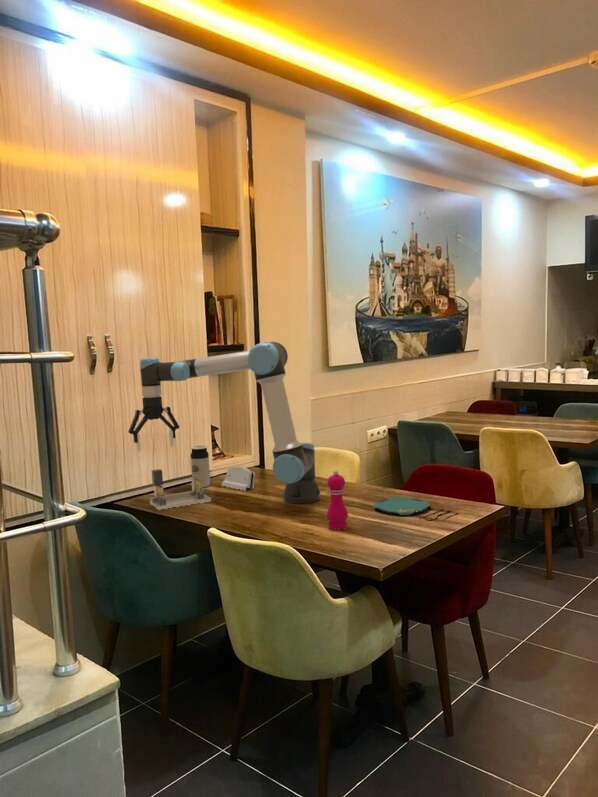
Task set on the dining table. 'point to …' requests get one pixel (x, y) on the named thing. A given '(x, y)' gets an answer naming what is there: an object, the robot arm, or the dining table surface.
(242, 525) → the dining table surface
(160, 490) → the sliding leg
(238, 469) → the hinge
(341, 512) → the pepper mill
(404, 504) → the teal flat plaque
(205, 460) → the travel mug
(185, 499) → the bolt plate
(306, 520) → the dining table surface
